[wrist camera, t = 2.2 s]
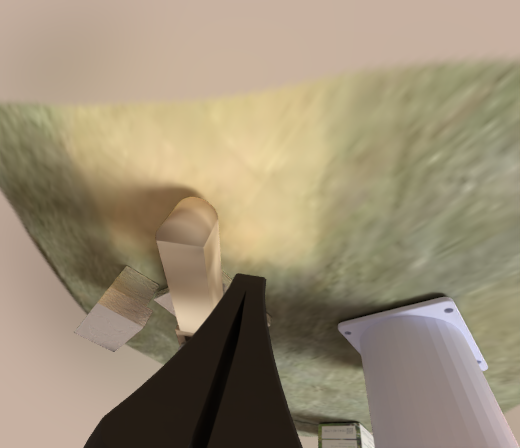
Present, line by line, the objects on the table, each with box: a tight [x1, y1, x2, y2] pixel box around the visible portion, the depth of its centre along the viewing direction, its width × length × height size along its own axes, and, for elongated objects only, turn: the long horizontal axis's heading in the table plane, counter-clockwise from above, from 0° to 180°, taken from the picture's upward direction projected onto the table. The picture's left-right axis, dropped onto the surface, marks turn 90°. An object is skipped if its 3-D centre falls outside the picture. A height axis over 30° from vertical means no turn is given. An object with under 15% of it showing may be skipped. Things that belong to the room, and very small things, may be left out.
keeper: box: [74, 266, 159, 352], centre depth 19 cm, size 3×5×5 cm, turn 139°
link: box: [156, 197, 223, 345], centre depth 17 cm, size 13×3×2 cm, turn 177°
